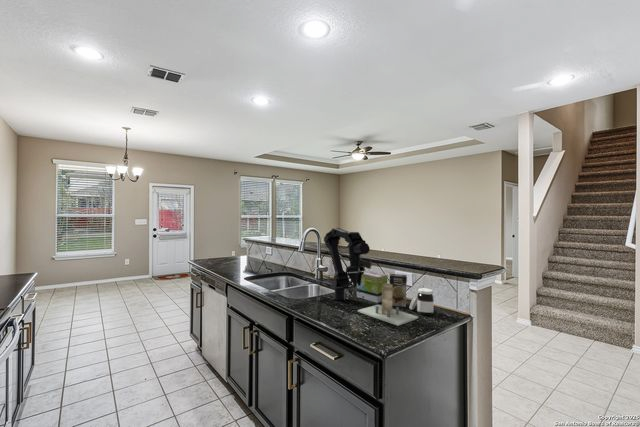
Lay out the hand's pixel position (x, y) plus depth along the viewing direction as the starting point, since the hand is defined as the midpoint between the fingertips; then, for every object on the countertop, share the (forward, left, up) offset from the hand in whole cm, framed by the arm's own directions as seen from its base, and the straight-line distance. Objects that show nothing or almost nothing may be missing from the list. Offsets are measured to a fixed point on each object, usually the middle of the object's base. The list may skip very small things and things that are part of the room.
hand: (357, 286), depth 158 cm
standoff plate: (+6, +15, -12) cm, 20 cm away
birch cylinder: (+6, +15, -11) cm, 19 cm away
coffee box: (-13, +21, -12) cm, 28 cm away
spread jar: (-3, +32, -12) cm, 34 cm away
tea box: (-21, +7, -12) cm, 25 cm away
